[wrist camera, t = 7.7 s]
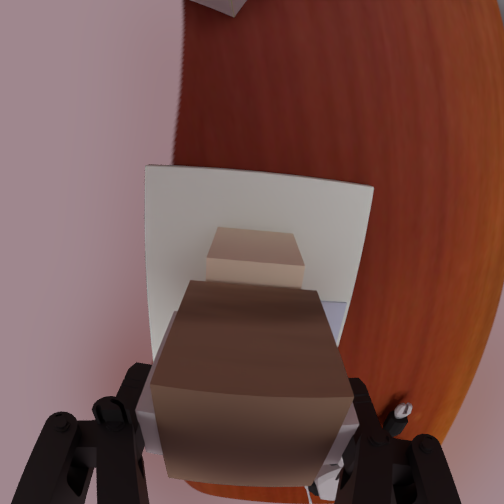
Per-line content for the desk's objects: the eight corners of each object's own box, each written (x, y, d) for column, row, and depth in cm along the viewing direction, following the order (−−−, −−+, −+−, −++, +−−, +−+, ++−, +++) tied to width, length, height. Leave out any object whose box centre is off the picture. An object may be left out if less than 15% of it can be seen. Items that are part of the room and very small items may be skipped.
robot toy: (286, 412, 28) (307, 483, 32) (289, 446, 23) (310, 510, 28) (407, 380, 27) (400, 459, 31) (423, 409, 22) (409, 484, 26)
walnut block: (190, 279, 15) (149, 384, 8) (316, 290, 15) (354, 396, 8) (191, 373, 17) (168, 477, 10) (296, 381, 17) (310, 485, 11)
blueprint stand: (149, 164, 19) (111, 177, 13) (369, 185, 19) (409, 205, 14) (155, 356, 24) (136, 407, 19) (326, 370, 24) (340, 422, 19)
